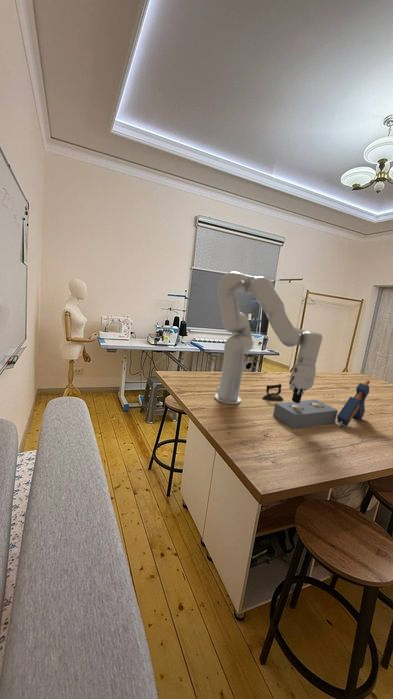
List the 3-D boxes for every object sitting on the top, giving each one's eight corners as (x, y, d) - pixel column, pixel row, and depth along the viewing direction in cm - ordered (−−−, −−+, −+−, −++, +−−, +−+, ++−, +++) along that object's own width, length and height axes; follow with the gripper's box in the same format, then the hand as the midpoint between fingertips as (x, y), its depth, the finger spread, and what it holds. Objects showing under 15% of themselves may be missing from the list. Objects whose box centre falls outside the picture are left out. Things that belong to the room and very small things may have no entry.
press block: (272, 415, 127) (275, 403, 125) (313, 411, 139) (315, 399, 138) (293, 428, 116) (296, 415, 115) (334, 422, 129) (337, 410, 128)
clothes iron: (284, 401, 149) (286, 384, 145) (267, 407, 144) (268, 390, 140) (274, 394, 155) (276, 378, 151) (258, 400, 150) (259, 384, 146)
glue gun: (335, 442, 132) (333, 422, 124) (358, 396, 147) (358, 375, 138) (349, 448, 128) (348, 427, 120) (372, 399, 143) (372, 378, 134)
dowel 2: (307, 413, 131) (309, 403, 130) (314, 412, 134) (316, 402, 132) (315, 417, 128) (317, 407, 127) (321, 416, 130) (324, 406, 129)
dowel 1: (286, 416, 125) (289, 405, 124) (294, 415, 127) (296, 404, 126) (294, 420, 121) (296, 409, 120) (301, 419, 124) (304, 408, 123)
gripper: (300, 363, 113) (289, 406, 117) (325, 364, 120) (314, 404, 124) (286, 358, 119) (276, 399, 123) (311, 359, 126) (301, 397, 130)
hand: (295, 401), depth 123 cm, fingers closed
